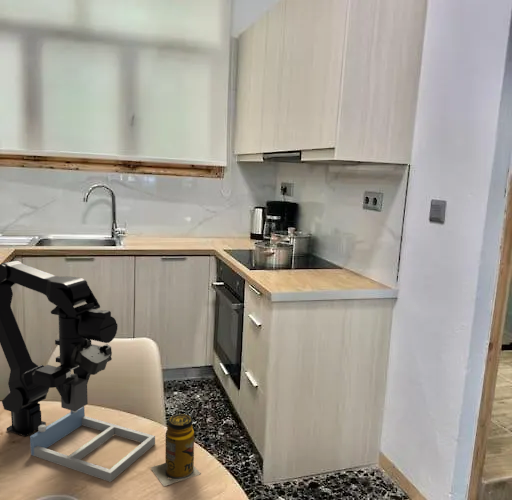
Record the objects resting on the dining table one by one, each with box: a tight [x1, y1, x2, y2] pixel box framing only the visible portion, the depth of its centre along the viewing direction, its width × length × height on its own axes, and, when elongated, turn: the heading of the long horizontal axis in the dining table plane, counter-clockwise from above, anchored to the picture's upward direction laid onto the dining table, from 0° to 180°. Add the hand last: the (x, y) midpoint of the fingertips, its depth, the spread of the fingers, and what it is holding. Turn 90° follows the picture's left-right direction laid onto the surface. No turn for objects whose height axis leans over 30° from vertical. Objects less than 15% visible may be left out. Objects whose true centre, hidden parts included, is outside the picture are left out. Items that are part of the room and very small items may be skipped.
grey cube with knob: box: [60, 373, 89, 411], centre depth 116 cm, size 4×4×8 cm
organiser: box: [29, 406, 156, 483], centre depth 115 cm, size 22×16×6 cm
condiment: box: [150, 413, 201, 487], centre depth 108 cm, size 7×8×12 cm
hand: (74, 399), depth 116 cm, fingers closed on grey cube with knob, 4 cm apart
